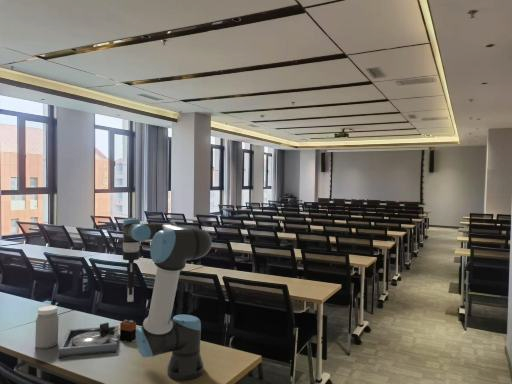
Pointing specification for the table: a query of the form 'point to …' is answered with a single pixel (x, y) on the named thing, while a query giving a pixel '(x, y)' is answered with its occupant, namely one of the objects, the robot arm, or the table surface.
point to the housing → (70, 351)
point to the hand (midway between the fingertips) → (130, 301)
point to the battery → (128, 331)
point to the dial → (93, 337)
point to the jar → (46, 327)
